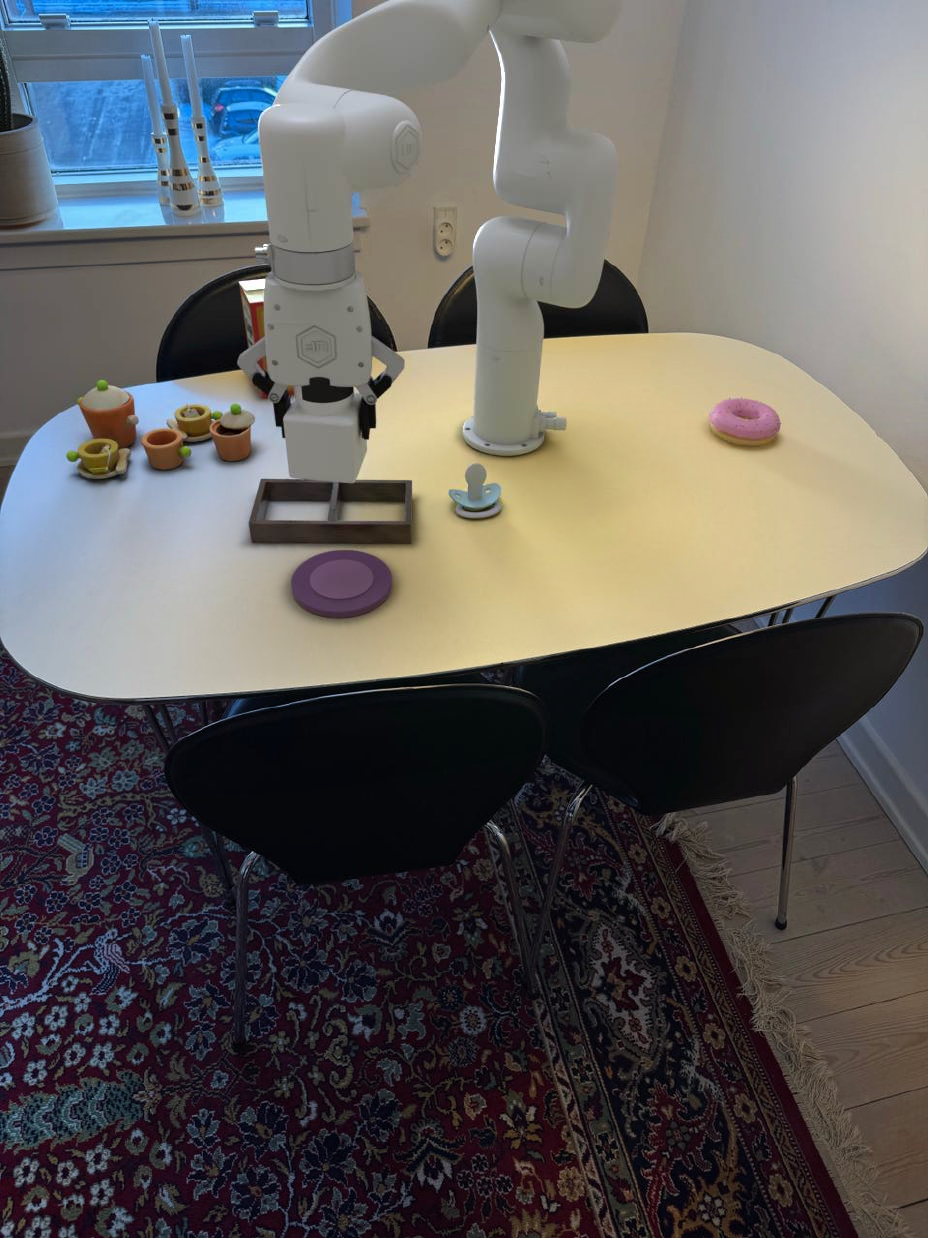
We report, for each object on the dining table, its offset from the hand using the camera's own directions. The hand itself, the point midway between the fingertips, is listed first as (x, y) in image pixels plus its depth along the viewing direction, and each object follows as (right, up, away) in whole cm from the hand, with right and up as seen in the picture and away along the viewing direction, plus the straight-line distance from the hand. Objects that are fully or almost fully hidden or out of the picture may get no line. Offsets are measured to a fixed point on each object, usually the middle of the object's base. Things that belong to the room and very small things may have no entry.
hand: (327, 431), depth 90 cm
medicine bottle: (0, -3, +3) cm, 4 cm away
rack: (-3, -7, +24) cm, 25 cm away
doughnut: (+58, +10, +45) cm, 75 cm away
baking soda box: (-17, +20, +53) cm, 59 cm away
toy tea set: (-29, +5, +36) cm, 47 cm away
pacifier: (+16, -5, +27) cm, 32 cm away
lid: (0, -16, +13) cm, 20 cm away
